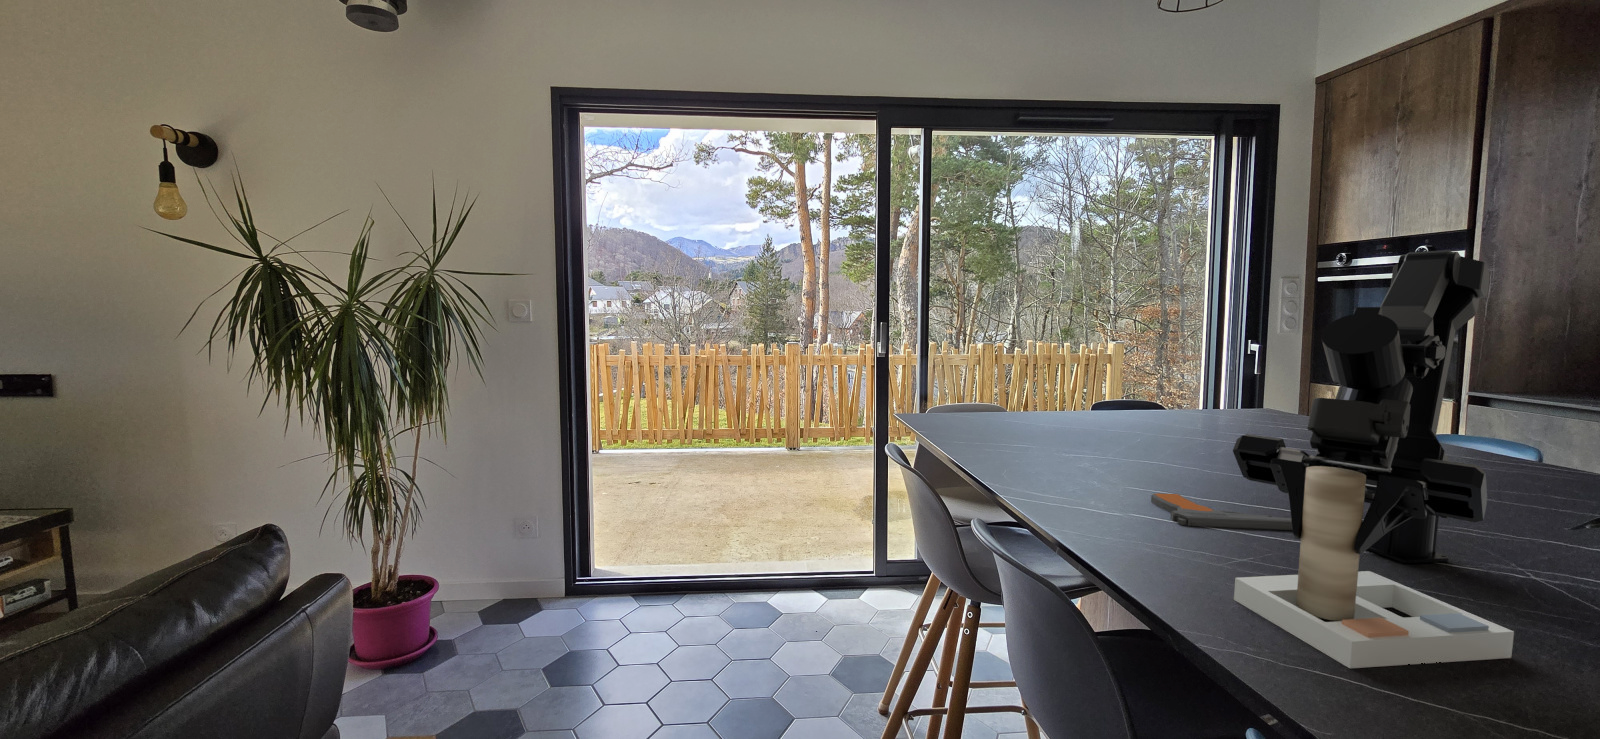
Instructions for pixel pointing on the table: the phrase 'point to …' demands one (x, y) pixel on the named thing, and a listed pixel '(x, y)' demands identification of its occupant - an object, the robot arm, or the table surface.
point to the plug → (1330, 542)
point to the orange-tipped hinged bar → (1214, 515)
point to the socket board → (1379, 624)
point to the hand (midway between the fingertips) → (1325, 543)
